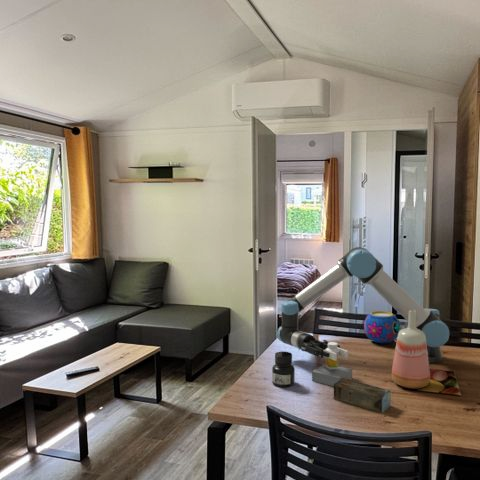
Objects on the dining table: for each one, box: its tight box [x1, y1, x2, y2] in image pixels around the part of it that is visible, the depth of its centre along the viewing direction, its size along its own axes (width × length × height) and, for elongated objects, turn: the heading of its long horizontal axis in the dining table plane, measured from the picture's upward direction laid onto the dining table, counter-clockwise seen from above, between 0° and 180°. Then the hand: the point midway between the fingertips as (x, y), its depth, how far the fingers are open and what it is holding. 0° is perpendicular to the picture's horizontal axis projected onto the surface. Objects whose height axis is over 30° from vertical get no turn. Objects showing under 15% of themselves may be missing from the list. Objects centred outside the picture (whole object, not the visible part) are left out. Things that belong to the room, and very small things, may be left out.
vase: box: [390, 310, 431, 389], centre depth 186 cm, size 14×14×30 cm
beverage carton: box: [333, 378, 392, 414], centre depth 171 cm, size 8×19×7 cm, turn 51°
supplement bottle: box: [325, 341, 340, 369], centre depth 192 cm, size 5×5×10 cm
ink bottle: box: [271, 350, 296, 388], centre depth 189 cm, size 10×9×12 cm
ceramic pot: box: [363, 310, 401, 345], centre depth 243 cm, size 18×18×15 cm
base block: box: [311, 362, 353, 387], centre depth 193 cm, size 12×12×4 cm
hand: (341, 355), depth 187 cm, fingers closed on supplement bottle, 5 cm apart
